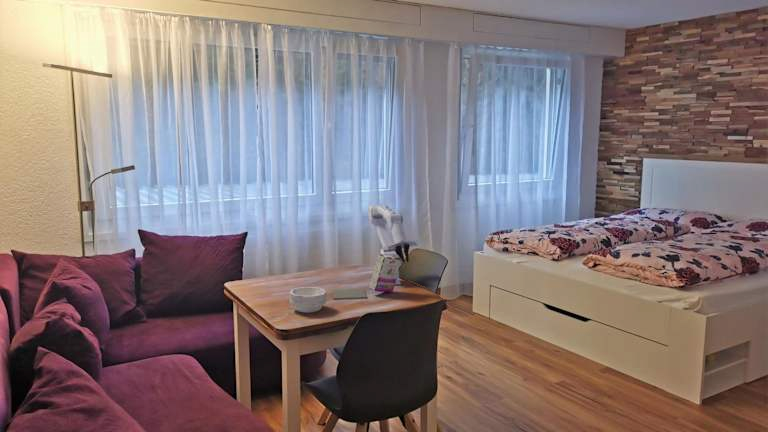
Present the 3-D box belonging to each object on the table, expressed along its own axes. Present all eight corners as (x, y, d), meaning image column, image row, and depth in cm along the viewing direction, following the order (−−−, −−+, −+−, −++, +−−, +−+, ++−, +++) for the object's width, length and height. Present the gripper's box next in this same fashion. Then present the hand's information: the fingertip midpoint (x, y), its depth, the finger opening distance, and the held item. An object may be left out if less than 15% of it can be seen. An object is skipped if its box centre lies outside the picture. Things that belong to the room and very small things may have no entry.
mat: (332, 290, 275) (332, 289, 275) (363, 289, 277) (363, 288, 276) (333, 299, 261) (333, 298, 261) (366, 298, 263) (366, 297, 263)
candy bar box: (385, 288, 276) (396, 255, 274) (392, 292, 272) (403, 259, 270) (367, 287, 268) (378, 253, 267) (374, 291, 265) (385, 256, 263)
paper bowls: (334, 309, 247) (334, 291, 246) (304, 317, 236) (304, 298, 235) (311, 302, 258) (311, 284, 256) (282, 309, 247) (282, 290, 246)
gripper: (384, 233, 271) (390, 259, 264) (415, 228, 273) (422, 254, 266) (383, 241, 277) (389, 267, 269) (413, 237, 279) (420, 261, 272)
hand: (405, 261), depth 268 cm, fingers closed
